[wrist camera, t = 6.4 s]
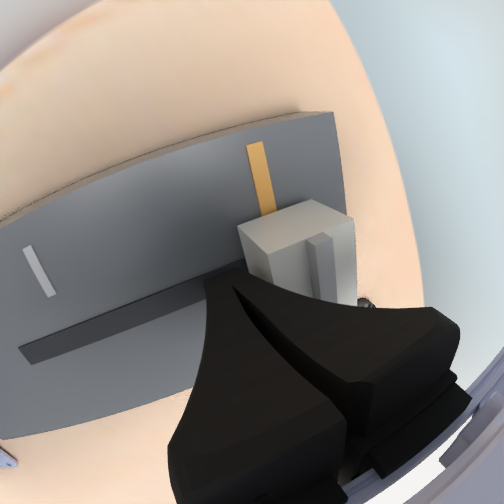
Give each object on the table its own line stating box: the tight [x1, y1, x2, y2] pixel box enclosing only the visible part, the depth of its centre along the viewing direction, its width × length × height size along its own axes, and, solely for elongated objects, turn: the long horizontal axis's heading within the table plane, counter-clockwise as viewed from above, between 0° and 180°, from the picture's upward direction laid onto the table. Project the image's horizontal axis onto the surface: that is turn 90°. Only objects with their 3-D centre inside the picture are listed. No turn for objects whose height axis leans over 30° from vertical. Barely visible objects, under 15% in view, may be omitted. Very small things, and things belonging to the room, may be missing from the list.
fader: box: [237, 199, 357, 306], centre depth 10 cm, size 3×4×3 cm
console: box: [0, 112, 347, 440], centre depth 11 cm, size 22×10×3 cm, turn 102°
